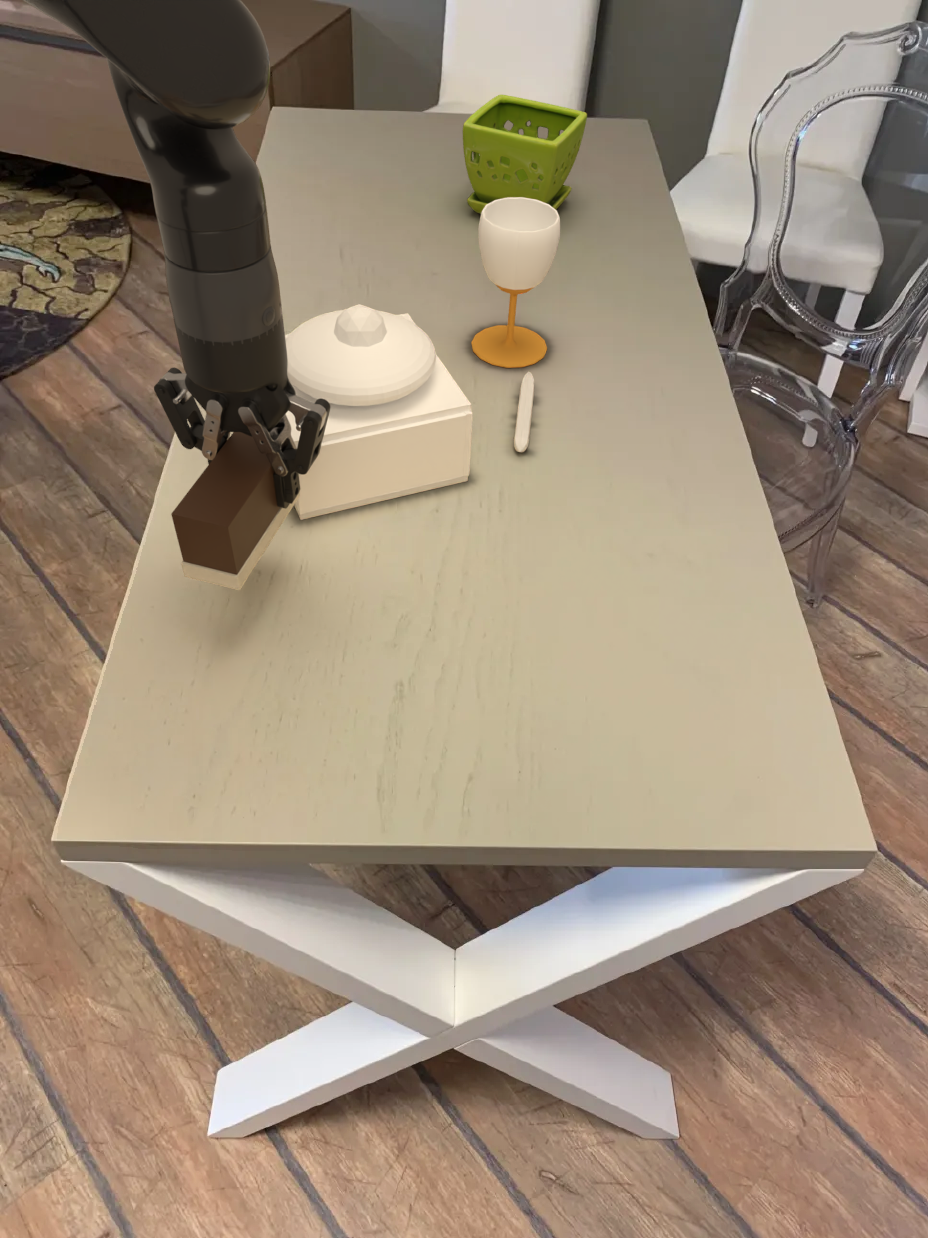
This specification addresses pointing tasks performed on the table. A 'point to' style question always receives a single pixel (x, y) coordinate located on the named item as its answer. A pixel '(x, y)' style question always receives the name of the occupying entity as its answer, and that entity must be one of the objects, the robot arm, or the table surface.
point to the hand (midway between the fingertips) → (257, 494)
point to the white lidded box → (376, 410)
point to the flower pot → (521, 150)
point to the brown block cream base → (229, 515)
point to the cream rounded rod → (524, 413)
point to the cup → (515, 272)
